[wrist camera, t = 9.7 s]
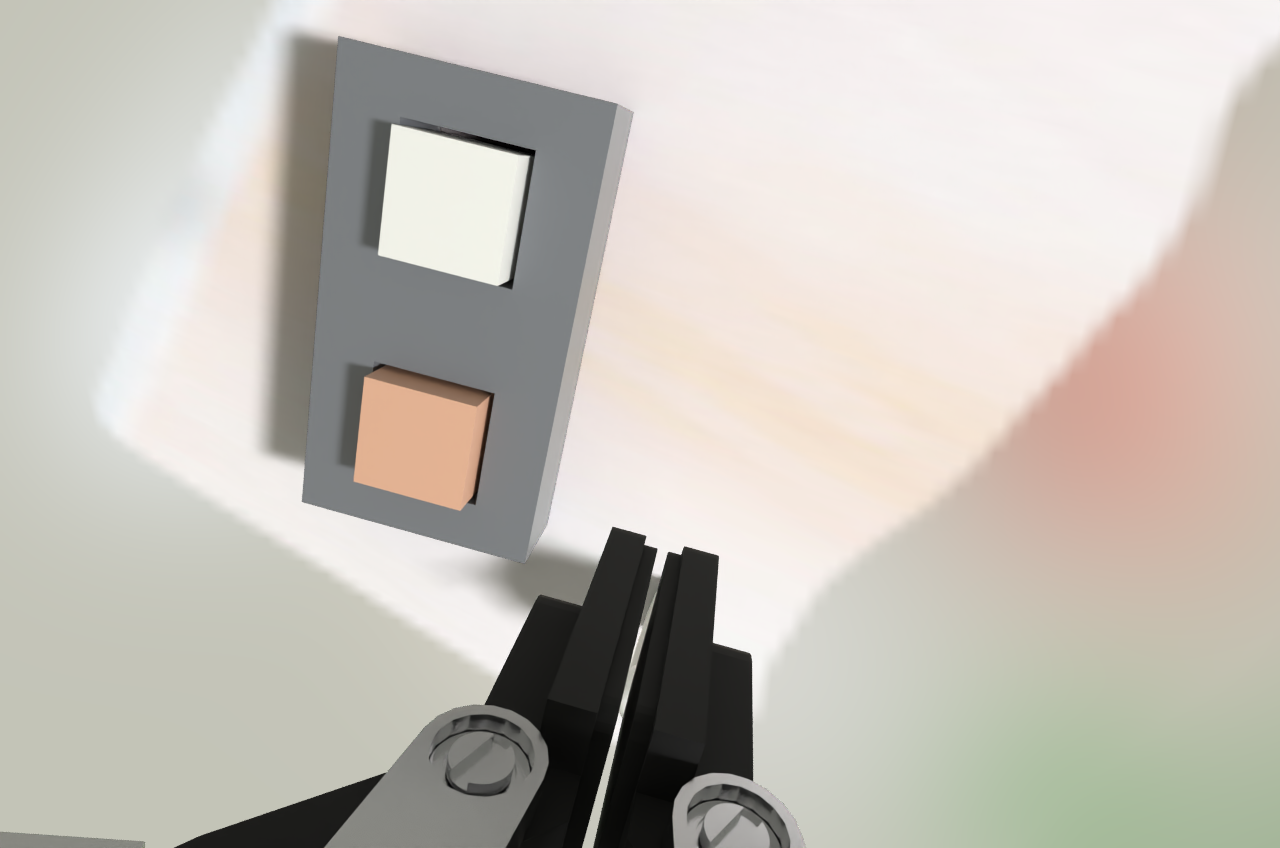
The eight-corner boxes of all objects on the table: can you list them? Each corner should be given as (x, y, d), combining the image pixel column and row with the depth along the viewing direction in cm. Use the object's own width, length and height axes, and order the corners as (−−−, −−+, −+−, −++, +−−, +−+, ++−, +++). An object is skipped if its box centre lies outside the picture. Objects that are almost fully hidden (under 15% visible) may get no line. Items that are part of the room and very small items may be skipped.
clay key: (402, 356, 38) (364, 376, 34) (504, 383, 37) (477, 407, 34) (390, 452, 40) (353, 481, 36) (487, 478, 39) (460, 511, 36)
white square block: (430, 129, 34) (391, 123, 30) (543, 157, 34) (518, 155, 30) (416, 246, 36) (377, 255, 32) (523, 273, 36) (497, 286, 32)
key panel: (387, 52, 35) (338, 36, 31) (633, 112, 34) (617, 103, 30) (346, 469, 42) (301, 501, 38) (547, 524, 42) (524, 563, 38)
